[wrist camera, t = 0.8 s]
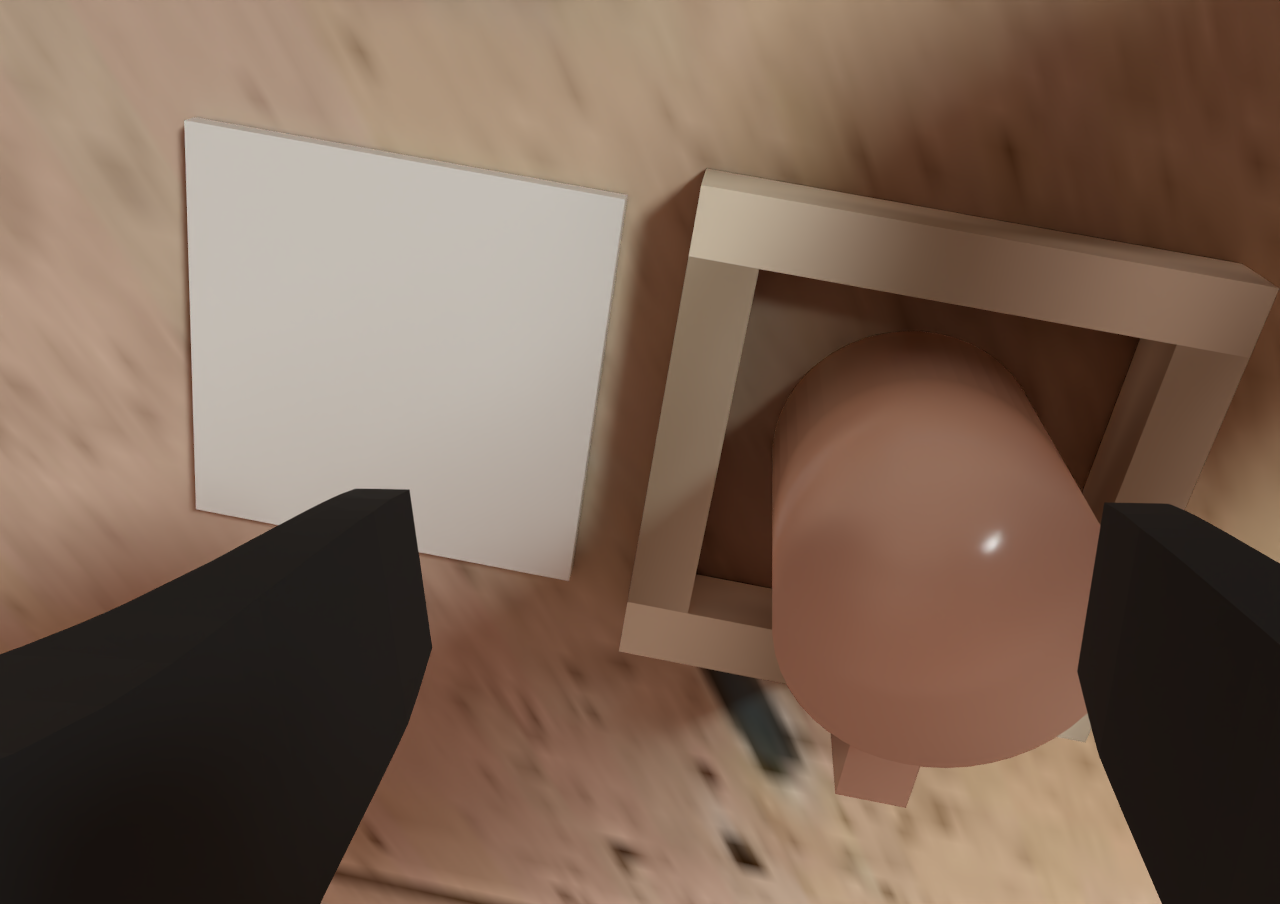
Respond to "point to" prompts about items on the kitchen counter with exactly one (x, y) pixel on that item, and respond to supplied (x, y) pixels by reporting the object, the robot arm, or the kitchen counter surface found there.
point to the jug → (925, 562)
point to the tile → (396, 338)
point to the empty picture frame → (940, 271)
